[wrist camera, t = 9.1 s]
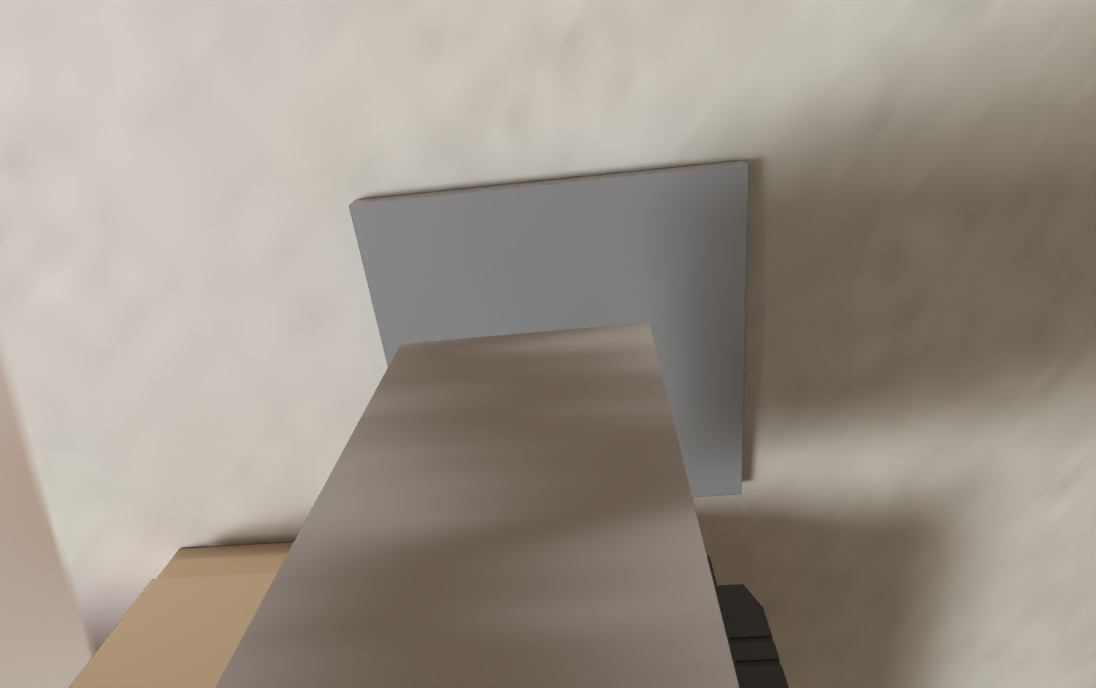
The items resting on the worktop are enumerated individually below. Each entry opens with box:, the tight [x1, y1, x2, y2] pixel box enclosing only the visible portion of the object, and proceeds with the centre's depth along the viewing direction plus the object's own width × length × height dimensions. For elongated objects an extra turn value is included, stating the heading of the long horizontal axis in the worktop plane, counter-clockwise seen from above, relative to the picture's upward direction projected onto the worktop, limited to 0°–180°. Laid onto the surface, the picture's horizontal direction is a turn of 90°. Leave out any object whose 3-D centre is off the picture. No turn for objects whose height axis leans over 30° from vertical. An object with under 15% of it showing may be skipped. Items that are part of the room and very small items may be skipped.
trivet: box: [349, 160, 749, 497], centre depth 21 cm, size 11×11×1 cm
